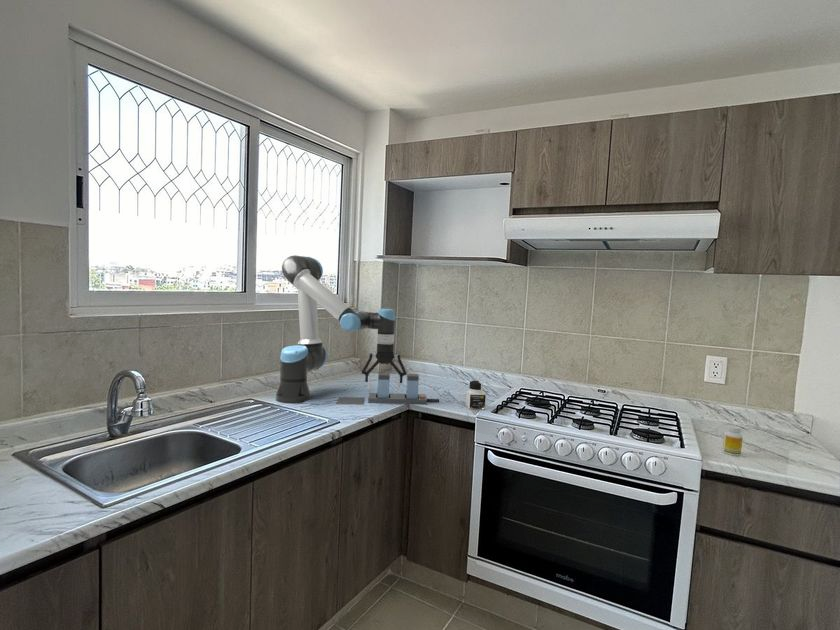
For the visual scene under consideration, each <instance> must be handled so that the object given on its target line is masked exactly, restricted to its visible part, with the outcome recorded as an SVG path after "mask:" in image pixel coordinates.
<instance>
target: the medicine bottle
mask: <svg viewBox="0 0 840 630" xmlns="http://www.w3.org/2000/svg"><path fill="white" fill-rule="evenodd" d="M465 393H466V394H465V406H466V407H467V409H469V410H470V409H482V408H484V407H485V408H486V398H487V397H486V393H485V392H484V382H482V381H481V380H471V381H470V382H469V388H468V390H466V391H465Z"/></svg>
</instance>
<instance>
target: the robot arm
mask: <svg viewBox="0 0 840 630" xmlns="http://www.w3.org/2000/svg"><path fill="white" fill-rule="evenodd" d="M281 272H282V275H283V276H284V278H285V279H286V280H287V281H288V283H290V284H291V285H293V286H294V287H295V288H296V289H297V302H298V303H297V304H298V318H299V334H300V336H299V337H300V339H299V340H298V342H297V344H296V345H295V344H294V345H289V346H286V347H284V348H282V350H281V352H280V356H279V357H280V375H279V379H280V380H279V383H278V386H277V389H276V392H275V400H276V401H277V402H280V403H288V404H292V403H293V404H294V403H295V404H296V403H304V402H305V401H309V400H310V399H311V391H310V388H309V384H308V373H309V372H312V371H317V370H319V369H321V368H322V367H324V366H325V364H326V362H327V360H328V352H327V350H326V348H325V347H324V346H323V341H322V339H320V336H319V317H318V314H319V313H318V304H319V306H321V307H322V308H323V309H324V310H325V311H326V312H327V313H329V314H330V315H332V316H333V317H334V318H335V319H336V320H337V321H338V322H339V323H340V327H341V328H342V330H344V331H345V332H356V331H359V330H367V329H369V330H377V337H376V340H377V344H376V353H372V352H370V354H369V358H368V359H367V361H366V363H365V365H364V367H363V368H362V370H361V374H362V375H364V376H365V379H364V382H365V383H367V391H369V390H370V387H371V386H370V385H371V384H370V381H371V374H370V373H371V372H373V370H374V369H375V368H376V367H377V366H378V365H379V364H381V365H384V364H385V365H389V364H390V366H392V367H393V369H394V370H395V371H396V372H397V374H398V375H397V391H398V392H400V389H401V388H400V387H401V386H400V385H401V384H403V379H404V378H403V377H404V376H407V374H408V373H407V371H406V368H405V366H404V364H403V361H402V359H401V354H400V353H398V354H395V353H394V352H395V351H394V350H395V344H394V342H395V323H396V311H395V310H394V309H392V308H379V309H378V311H377V312H370V311H362V310H361V311H354V310H353V308H351V307H350V306H349V305H348V304H346V303H345V301H343V300H341V298H339V297H338V296H337V295H336V294H335V293H333V291H332V290H330V289H329V288H328V287H326V286H325V285H324V284H323V283H322V282H320V279H321V278H322V277H323V274H324V273H323V272H324V269H323V266H322V263H321V262H320V261H319V260H318V259H317V258H315V257H311V256H304V255H302V256H301V255H291V256H288V257H287V258H285V260H284V261H283V262H282V265H281ZM374 358H376V361H375V362H374V363H373V364H372V365H371V366H370V368H369V369H368V367H369V365H370V363H371V362H372V360H373V359H374ZM394 359H396V360H397V361H398V364H399V366H400V368H401V369H400V368H399V367H398V366H397V365H396V364H395V362H394V361H393V360H394Z"/></svg>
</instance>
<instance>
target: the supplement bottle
mask: <svg viewBox="0 0 840 630" xmlns="http://www.w3.org/2000/svg"><path fill="white" fill-rule="evenodd" d="M741 432H742V427H740V426H737V425H731V424H729V425H727V426H726V431H724V432H723V433H724V434H723V441H722V452H723V453H724V454H726V455H729V456H733V457H734V456H735V457H739V456H741V455H742V454H741V453H742V447H743V446H742V445H743V438H744V437H743V434H742V433H741Z"/></svg>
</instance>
